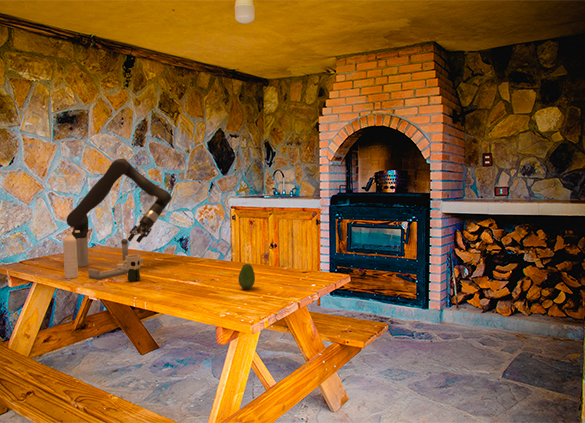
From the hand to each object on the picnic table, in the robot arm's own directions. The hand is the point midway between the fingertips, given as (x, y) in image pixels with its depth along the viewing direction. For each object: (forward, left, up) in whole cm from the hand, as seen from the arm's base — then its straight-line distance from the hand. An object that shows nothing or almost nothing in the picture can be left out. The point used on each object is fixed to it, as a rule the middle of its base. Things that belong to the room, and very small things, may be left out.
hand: (133, 241), depth 244 cm
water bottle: (-14, -28, -17) cm, 36 cm away
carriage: (0, -5, -14) cm, 15 cm away
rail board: (0, -12, -17) cm, 21 cm away
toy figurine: (+21, -15, -17) cm, 31 cm away
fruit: (+82, +4, -17) cm, 84 cm away
